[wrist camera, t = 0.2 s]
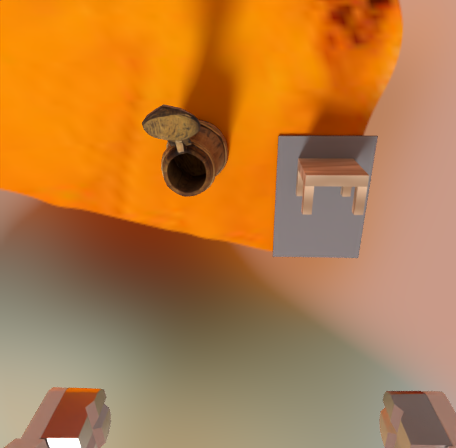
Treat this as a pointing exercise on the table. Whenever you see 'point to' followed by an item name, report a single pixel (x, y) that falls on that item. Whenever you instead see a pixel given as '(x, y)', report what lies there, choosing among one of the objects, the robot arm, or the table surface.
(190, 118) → the wooden mug
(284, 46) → the table surface
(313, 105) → the table surface
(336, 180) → the stool
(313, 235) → the mat
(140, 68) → the table surface
